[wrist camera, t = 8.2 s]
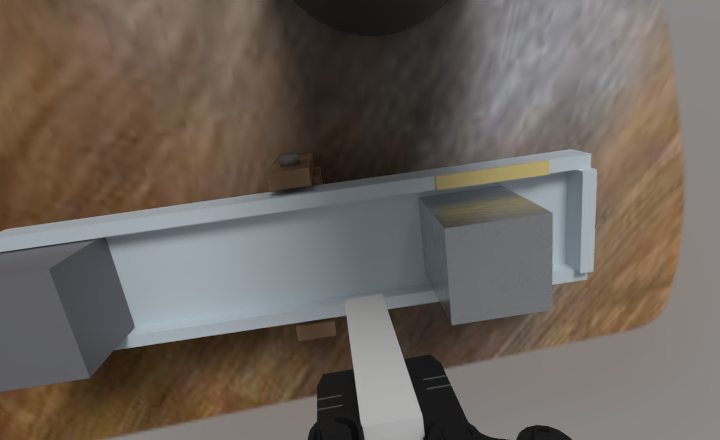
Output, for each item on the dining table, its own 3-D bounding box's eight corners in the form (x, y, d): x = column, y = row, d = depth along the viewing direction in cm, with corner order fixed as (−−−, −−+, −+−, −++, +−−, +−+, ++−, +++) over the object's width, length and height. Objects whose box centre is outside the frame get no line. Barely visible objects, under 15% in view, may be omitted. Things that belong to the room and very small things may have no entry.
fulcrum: (299, 302, 32) (293, 350, 26) (270, 149, 29) (255, 164, 23) (341, 296, 32) (344, 342, 26) (316, 143, 29) (314, 155, 23)
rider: (425, 274, 26) (451, 325, 20) (418, 197, 25) (444, 228, 19) (503, 263, 26) (552, 310, 20) (501, 185, 25) (552, 212, 19)
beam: (52, 343, 27) (-24, 411, 21) (6, 229, 25) (-93, 270, 19) (569, 266, 28) (631, 311, 22) (571, 149, 25) (641, 164, 20)
